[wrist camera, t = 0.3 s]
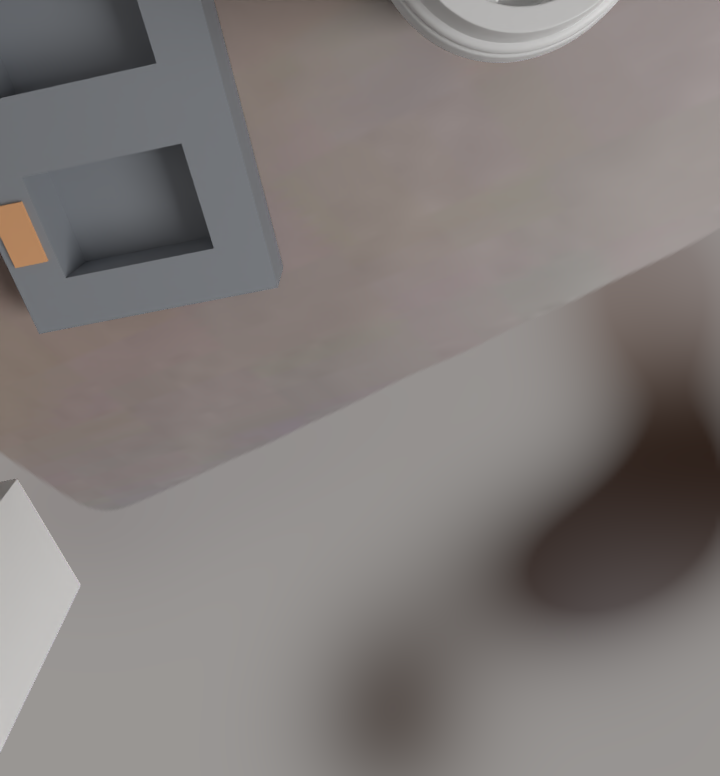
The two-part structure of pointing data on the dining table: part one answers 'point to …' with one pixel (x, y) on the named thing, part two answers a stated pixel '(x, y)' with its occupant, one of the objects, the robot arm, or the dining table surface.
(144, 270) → the socket board
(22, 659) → the robot arm
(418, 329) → the dining table surface
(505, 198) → the dining table surface
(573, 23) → the coffee cup
